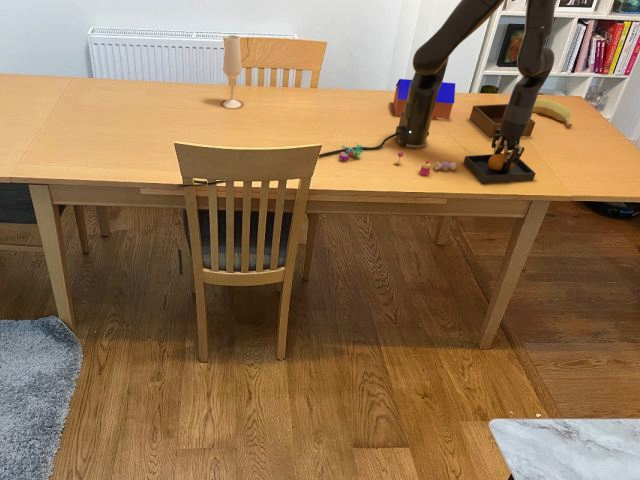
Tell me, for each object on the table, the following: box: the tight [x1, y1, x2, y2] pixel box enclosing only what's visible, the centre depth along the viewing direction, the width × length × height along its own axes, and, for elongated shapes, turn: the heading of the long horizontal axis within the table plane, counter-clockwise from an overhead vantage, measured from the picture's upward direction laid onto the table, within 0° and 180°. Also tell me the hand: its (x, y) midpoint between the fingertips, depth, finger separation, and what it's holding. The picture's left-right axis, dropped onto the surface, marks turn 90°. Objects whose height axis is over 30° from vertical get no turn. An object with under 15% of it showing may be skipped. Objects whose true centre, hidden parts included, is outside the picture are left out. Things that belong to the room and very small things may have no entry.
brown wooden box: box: [469, 103, 536, 139], centre depth 208 cm, size 16×16×6 cm
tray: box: [463, 153, 536, 185], centre depth 185 cm, size 17×13×3 cm
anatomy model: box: [339, 142, 364, 161], centre depth 188 cm, size 5×8×7 cm
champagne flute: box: [222, 34, 243, 109], centre depth 209 cm, size 7×7×24 cm
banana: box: [533, 98, 573, 129], centre depth 217 cm, size 14×6×20 cm
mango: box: [488, 153, 514, 171], centre depth 184 cm, size 8×5×5 cm, turn 101°
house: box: [392, 78, 456, 120], centre depth 215 cm, size 12×20×12 cm, turn 84°
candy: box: [397, 150, 457, 176], centre depth 183 cm, size 18×8×6 cm, turn 91°
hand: (499, 167), depth 185 cm, fingers closed on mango, 5 cm apart
